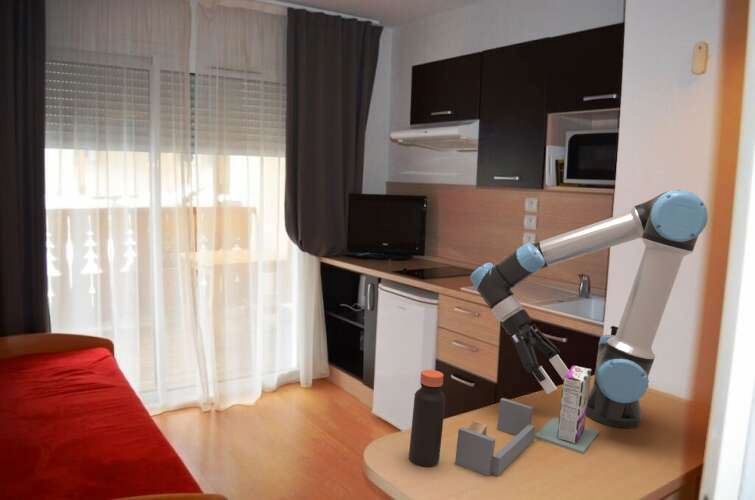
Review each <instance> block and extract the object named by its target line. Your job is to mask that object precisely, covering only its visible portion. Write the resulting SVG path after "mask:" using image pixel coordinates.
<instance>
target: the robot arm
mask: <svg viewBox="0 0 755 500" xmlns="http://www.w3.org/2000/svg"><path fill="white" fill-rule="evenodd" d="M708 217H709V213H708V209H707V207H706V204H705V203H704V201H703V200H702V199H701V198H700V197H699V196H698V195H696V194H695V193H693V192H691V191H687V190H681V189H676V190H670V191H665V192H663V193H661V194H659V195H656V196H655V197H653V198H651V199H649V200H647V201H645V202H642V203H639V204H637V205H634V206H632V207H631V210H629V211H628V212H624V213H621V214H618V215H616V216H612V217H609V218H606V219H603V220H601V221H597V222H595V223H592V224H588V225H585V226H582V227H580V228H577V229H576V228H575V229H573V230H571V231H568V232H565V233H561V234H558V235H556V236H553V237H549V238H546V239H544V240H540V241H538V242H534V243H531V242H527V243H526V242H525V244H524V245H522V246H519V247H518V248H517V249H516V250H515V251H514V252H512V253H511V254H509V255H507V257H506V258H504V259H503V260H502V261H500V262H499V263H497V264H496V265H494V264H493V263H492V262H486V263H484V264H482V265H481V266H479V267H478V268H476V269H475V270H473V272H471V274H470V277H469V278H470V281H471V282H472V284H473V286H474V287H475V289H476V292H478V293H479V295H480V296H481V298H482V299H483V300H484V302H485V303H486V305H487V306H488V307H489V309H490V310H491V312H492V313H493V314H492V315H493V317H495V318H496V319H497V320H498V322H499V323H500V322H501V327H502V328H503V329H504V331H505V333H506V334H507V335H509V336H510V335H512V336H510V340H511V342H512V344H513V345H514V347H515V349H516V352H517V354H518V356H519V360H520V361H521V363H522V366H523V368H524V370H525V371H526V373H527V374H530V373H532V374H533V376H534V377H535V378H536V380H537V381H538V383H539V384H540V386H541V387H542V389H543V391H544V392H545V393H546V394H547V395H549V394H550V393H552V392H554V391H556V390H557V389H558V388H557V386H556V385H555V383H554V382H553V381H552V378H550V376H549V374H548V373H547V372H546V371H545V369H544V368H543V366H542V365H540V364H539V361H538V359H537V355H536V352H535V348H536V349H537V350H539V351H540V352H541V353H542V354H544V355H545V356H546V357H548V358H549V359H548V360H549V362H550V363H551V365H552V366H553V368H554V369H555V371H556V372H557V373H558V375H559V376H560V378H561V379H562V380H564V376H565V375H566V374H567V372H568V371H569V370H570V369H569V368H568V367H567V365H566V364H565V363H564V361H563V360H562V358H561V357H560V355H559V354H560V352H561V350H560V349H559V348H558V347H557V346H556V345H555V344H554V343H553V342H552V341H551V340H550V339H549V338H548V337H546V335H545V334H543V332H542V331H541V330H540V329H539V327H537V326H536V324H532V325H530V324H529V323H531V322H532V318H531V316H530V315H529V313H528V312H527V311H526V309H524V308H523V304H522V303H521V301H520V300H519V299H518V297H516V295H515V294H514V293H513V290H512V289H513V288H515V286H517V285H518V284H520V283H521V282H523V281H525V280H526V279H528V278H529V277H530V276H531V275H533V274H535V273H537V272H538V271H539V270H542V269H545V268H548V267H550V266H554V265H557V264H560V263H563V262H567V261H570V260H572V259H577V258H579V257H583V256H586V255H589V254H593V253H595V252H596V253H597V252H599V251H603V250H606V249H608V248H612V247H615V246H619V245H622V244H625V243H629V242H631V241H634V240H639V239H641V240H642V242H643V244H644V245H645V247H644V251H643V254H642V256H641V257H642V258H641V260H640V262H639V265H638V268H637V271H636V275H635V277H634V279H633V283H632V286H631V290H630V293H629V296H628V297H627V298H628V299H627V301H626V303H625V307H624V309H623V313H622V316H621V319H620V321H619V324H618V326H617V327H618V330H617V333H616V335H611V334H602V335H601V336H600V339H599V341H598V350H597V356H596V363H595V370H594V371H595V372H594V377H593V378H594V379H593V385H592V387H591V389H590V391H589V393H588V402H587V410H586V417H588V418H590V419H591V420H593V421H595V422H598V423H600V424H603V425H606V426H610V427H615V428H623V429H632V428H637V427H640V426H641V423H642V417H643V415H642V410H641V403H640V399H642V398H643V396H645V394H646V393H647V390H648V388H649V382H650V381H649V380H650V379H649V375H650V373H651V370H652V367H653V364H654V361H655V358H656V354H655V353H654V351H653V350H652V347H653V344H654V341H655V337H656V336H657V332H658V329H659V327H660V324H661V320H662V318H663V316H664V312H665V310H666V306H667V304H668V301H669V298H670V295H671V293H672V289H673V287H674V284H675V282H676V279H677V275H678V274H679V271H680V267H681V264H682V263H683V259H684V257H686V256H688V255H690V254H692V253H693V252H694V249H695V246H696V245H697V244H696V243H697V241H698V239H699V235H700V234H701V233H703V232H704V229H705V228H706V227H707V223H708V220H709V219H708ZM513 334H514V335H513Z"/></svg>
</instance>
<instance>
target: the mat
mask: <svg viewBox="0 0 755 500" xmlns="http://www.w3.org/2000/svg"><path fill="white" fill-rule="evenodd" d="M558 426H559V417H558V418H557V417H555V416H553V417H552V418H551V419H549V421H548V422H546V424H545V425H543V426H542V427H541V428H540V429H539V430H538V431H537V432H536V433H534V439H535V438H536V439H538V440H540V441H541V440H542V441H544V442H547V443H550V444H553V445H555V446H558V447H561V448H562V447H563V448H565V449H568V450H570V451H574V452H577V453H580V454H582V455H583V454H584V453H585V452H586V451H587V450H588V449H589V447H590V446H591V445H592V443H593V442H594V440H595V439H596V438H597V436H598V435H599V433H600V431H599V430H597V429H593V428H589V427H587V426H585V428H584V430H583V432H582V434H581V436H580V437H579V439H578V441H577V443H576V444H574V443H570V442H566V441H563V440H560V439H557V435H558Z"/></svg>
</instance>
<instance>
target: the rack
mask: <svg viewBox="0 0 755 500" xmlns="http://www.w3.org/2000/svg"><path fill="white" fill-rule="evenodd" d="M498 408H499V409H498V417H497V424H496V425H497V427H496V430H498V429H499V430H498V431H501V430H502V431H501V432H504V433H507V434H510V435H513V436H514V437H513V438H512V439H510V441H509V442H507V443H506V444H505V445H503V447H502V448H500V450H499V451H497V452H496V453H495V452H494V451H495V444H496V438H495V437H492V436H489V435H488V436H486V435H487V434H486V435H483V434H481V433H478V432H475V431H472V430H469V429H467V427H464V426H461V427H459V428H458V432H457V439H456V440H457V442H456V451H455V459H454V463H455V464H457V465H459V466H462V467H464V468H467V469H469V470H471V471H474V472H476V473H479V474H481V475H484V476H487V477H490V475H494V476H497V477H498V476H499V475H501V474H502V473H503V472H504V471H505V470H506V469H507V467H509V466H510V465H511V464H512V463H513V462H514V460H516V459H517V458H518V457H519V456H520V455H521V454H522V453H523V452H524V451H525V450H526V449H527V448H528V447H529V446H530V445H531V444H532V443H533V442H534V438H535V427H536V426H535V425H533V424H532V418H533V412H534V411H533V409H534V407H533V406H530V405H528V404H524V403H522V402H517V401H516V400H515V401H514V400H511V399H509V398H505V397H502V398H500V401H499V407H498ZM494 453H495V454H494Z"/></svg>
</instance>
